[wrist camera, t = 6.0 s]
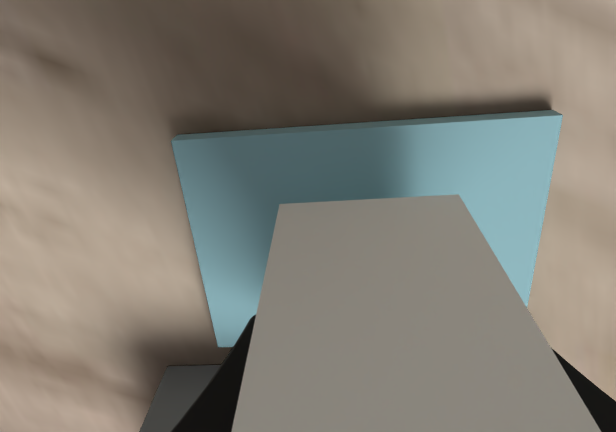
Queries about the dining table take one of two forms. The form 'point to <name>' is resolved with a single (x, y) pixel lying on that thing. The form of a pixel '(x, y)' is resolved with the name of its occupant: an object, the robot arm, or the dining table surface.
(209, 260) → the mat
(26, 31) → the dining table surface
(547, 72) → the dining table surface
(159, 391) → the case
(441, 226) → the block
